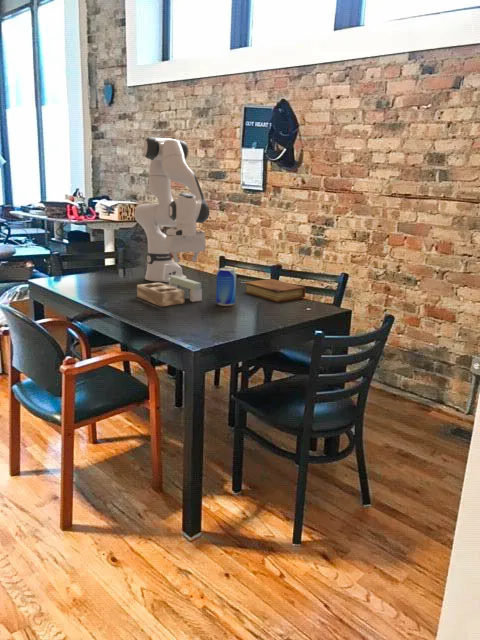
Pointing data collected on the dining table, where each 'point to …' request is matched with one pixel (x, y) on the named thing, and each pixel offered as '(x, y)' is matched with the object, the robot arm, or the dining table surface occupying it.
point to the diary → (275, 290)
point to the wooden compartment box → (160, 294)
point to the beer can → (226, 287)
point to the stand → (192, 293)
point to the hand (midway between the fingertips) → (185, 261)
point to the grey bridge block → (185, 283)
